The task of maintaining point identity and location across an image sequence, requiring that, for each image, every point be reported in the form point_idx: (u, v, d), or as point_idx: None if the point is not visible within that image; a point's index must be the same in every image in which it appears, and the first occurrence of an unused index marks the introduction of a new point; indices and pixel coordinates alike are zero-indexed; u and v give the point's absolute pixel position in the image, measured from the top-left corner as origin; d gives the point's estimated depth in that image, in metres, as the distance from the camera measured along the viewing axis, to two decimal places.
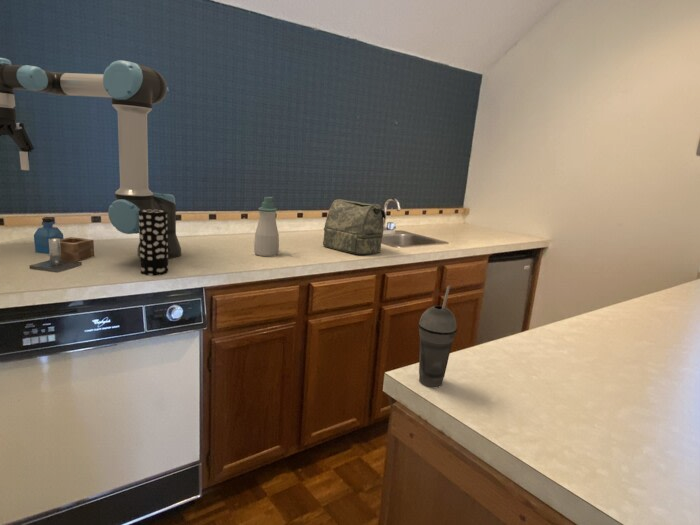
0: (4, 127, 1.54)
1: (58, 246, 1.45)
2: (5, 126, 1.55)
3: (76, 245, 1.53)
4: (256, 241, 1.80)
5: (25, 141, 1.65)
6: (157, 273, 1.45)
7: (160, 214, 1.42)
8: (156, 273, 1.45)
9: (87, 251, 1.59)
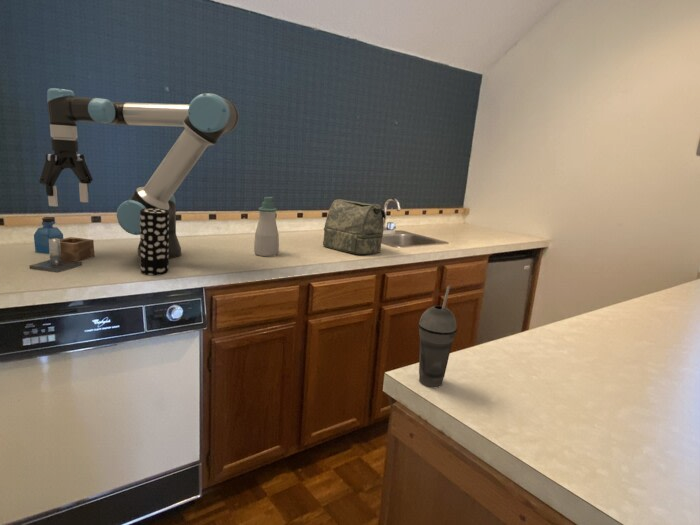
0: (67, 160, 1.49)
1: (58, 246, 1.45)
2: (68, 159, 1.49)
3: (76, 245, 1.53)
4: (256, 241, 1.80)
5: (85, 172, 1.59)
6: (157, 273, 1.45)
7: (162, 215, 1.41)
8: (156, 273, 1.45)
9: (87, 251, 1.59)
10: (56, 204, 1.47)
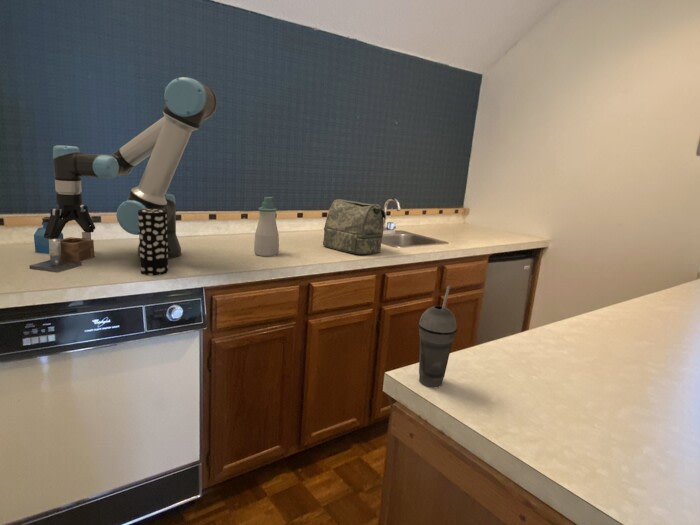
0: (71, 214, 1.53)
1: (58, 246, 1.45)
2: (72, 212, 1.53)
3: (76, 245, 1.53)
4: (256, 241, 1.80)
5: (88, 222, 1.63)
6: (157, 273, 1.45)
7: (160, 214, 1.41)
8: (156, 273, 1.45)
9: (87, 251, 1.59)
10: None
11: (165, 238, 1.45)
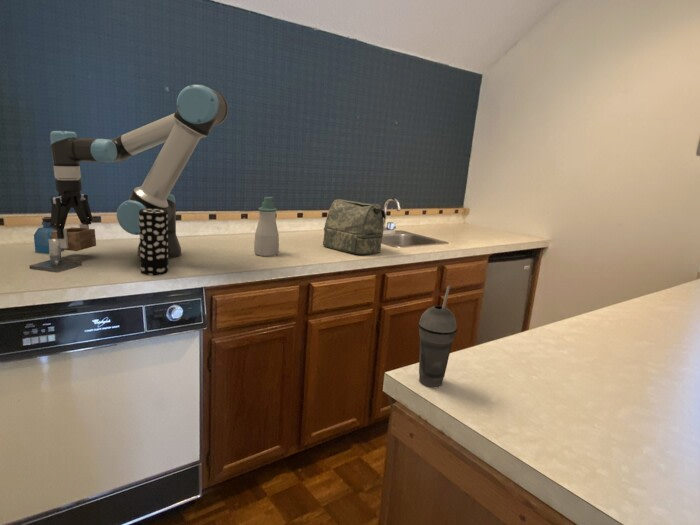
0: (71, 200, 1.52)
1: (58, 246, 1.45)
2: (72, 199, 1.52)
3: (77, 234, 1.52)
4: (256, 241, 1.80)
5: (86, 212, 1.61)
6: (157, 273, 1.45)
7: (161, 214, 1.41)
8: (156, 273, 1.45)
9: (89, 240, 1.58)
10: (67, 246, 1.52)
11: (166, 238, 1.45)
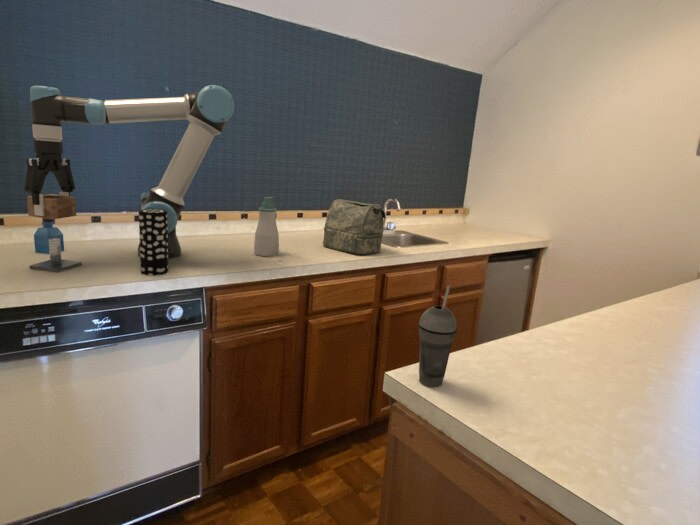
0: (50, 163, 1.39)
1: (58, 246, 1.45)
2: (51, 162, 1.39)
3: (54, 201, 1.39)
4: (256, 241, 1.80)
5: (67, 179, 1.48)
6: (157, 273, 1.45)
7: (160, 214, 1.42)
8: (156, 273, 1.45)
9: (67, 209, 1.44)
10: (42, 213, 1.39)
11: (165, 238, 1.45)
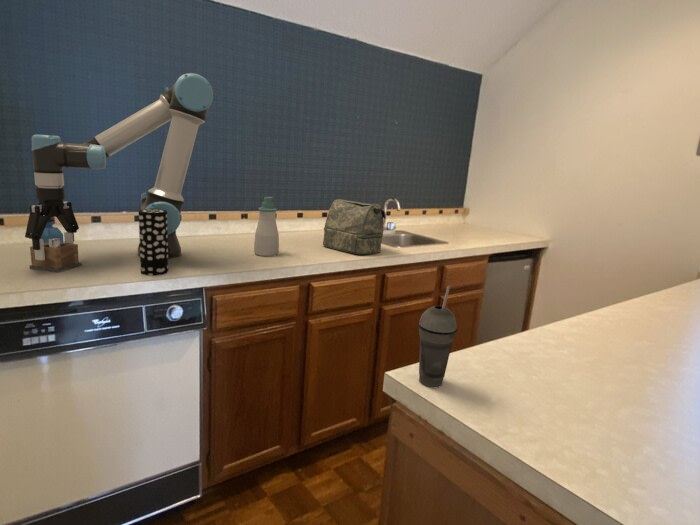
0: (52, 209, 1.40)
1: (58, 246, 1.45)
2: (53, 208, 1.40)
3: (58, 250, 1.41)
4: (256, 241, 1.80)
5: (71, 221, 1.50)
6: (157, 273, 1.45)
7: (160, 214, 1.42)
8: (156, 273, 1.45)
9: (70, 257, 1.46)
10: (43, 258, 1.39)
11: (165, 238, 1.45)
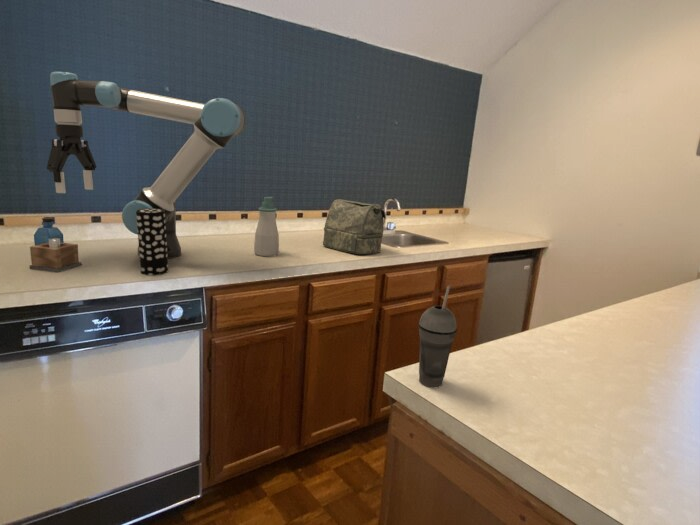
0: (73, 146, 1.46)
1: (58, 246, 1.45)
2: (73, 145, 1.46)
3: (58, 250, 1.41)
4: (256, 241, 1.80)
5: (88, 159, 1.56)
6: (157, 273, 1.45)
7: (158, 214, 1.41)
8: (156, 273, 1.45)
9: (70, 257, 1.46)
10: (64, 191, 1.44)
11: (164, 238, 1.45)
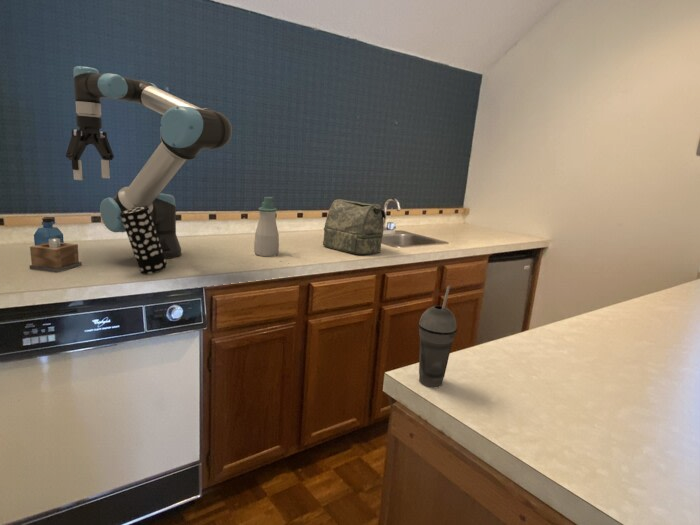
0: (91, 136, 1.55)
1: (58, 246, 1.45)
2: (92, 135, 1.56)
3: (58, 250, 1.41)
4: (256, 241, 1.80)
5: (107, 149, 1.66)
6: (156, 270, 1.45)
7: (141, 212, 1.39)
8: (155, 270, 1.45)
9: (70, 257, 1.46)
10: (81, 178, 1.54)
11: (154, 234, 1.43)
